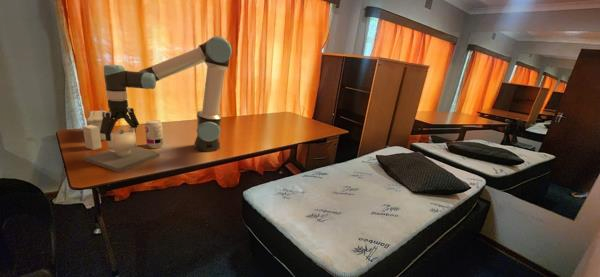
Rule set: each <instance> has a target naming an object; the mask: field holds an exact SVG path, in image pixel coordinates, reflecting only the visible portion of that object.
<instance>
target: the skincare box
mask: <svg viewBox="0 0 600 277" xmlns="http://www.w3.org/2000/svg"><path fill="white" fill-rule="evenodd" d="M82 131H83V137H84V142H85V148H86V149H89V150H92V151H95V150H99V149H102V140H101V138H100V132H99V127H97V126H94V125H87V124H86V125H83V126H82Z"/></svg>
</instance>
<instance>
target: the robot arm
mask: <svg viewBox="0 0 600 277" xmlns="http://www.w3.org/2000/svg"><path fill="white" fill-rule="evenodd" d="M232 52H233V48H232V45H231V43H230V42H229V41H228V40H227V38H224V37H222V36H212V37H210V38H209V39H208V40H207V41H205V42H204V43H201V44H199V45H198V47H197V48H194V49H191V50H190V51H187V52H184V53H182V54H179V55H177V56H173V57H172V58H169V59H167V60H164V61H162V62H158V63H156V64H154V65H151V66H149V67H146V68H143V69H141V70H139V71H132V70H130V71H129V70H125V67H124V66H123V65H119V64H106V65H104V66H103V73H104V74H103V77H104V84H105V90H106V91H105V92H106V99H107V107H108V109H109V111H108V112H107V111H106V112H103V120H102V124H101V129H100V133H102V134H105V138H106V140H105V141H107V147H108V148H109V147H114V141H113V134H111V133H112V131H113V129H114V127H115V125H116V123H117V122H118V121H119V120H122V119H123V120H124V121H126V123H127V124H128V125H129V127H128V131H131V132H134V133H135V134H136V133H137V131H136V130H137V128H138V126H139V125H140V122H139V121H138V119H137V117H136V114H135V109H134V108H133V107H129V103H128V102H129V101H128V93H127V92H128V91H127V88H130V89H131V88H132V89H133V88H134V89H145V90H154V89H155V88H156V83H157V82H158V81H160V80H163V79H166V78H168V77H170V76H173V75H175V74H178V73H180V72H183V71H185V70H188V69H190V68H193V67H196V66H198V65H201V64H203V63H205V65H206V66H207V68H206V77H205V85H204V93H203V94H204V95H203V100H202V101H203V102H202V110H198V111H197V114H196V123H197V124H196V134H197V135H196V138H195V141H194V144H193V148H194V149H195V150H196V151H199V152H215V151H218V150H219V149H220V148H221V141H220V138H219V137H220V134H221V122H222V116H221V115H220V109H221V100H222V92H223V87H224V79H225V72H226V70H227V69H228V68H229V67H230V66H229V64H230V59H231V56H232V55H233V54H232ZM217 149H218V150H217Z"/></svg>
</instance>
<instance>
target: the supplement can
mask: <svg viewBox="0 0 600 277" xmlns="http://www.w3.org/2000/svg"><path fill="white" fill-rule="evenodd" d="M144 124H145V126H144V128H145V138H146V139H145V140H146V141H145V142H146V146H147V147H148V148H149V149H159V148H162V146H163V145H164V136H163V123H162V121H161V120H158V119H150V120H146V122H145V123H144Z"/></svg>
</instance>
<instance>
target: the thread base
mask: <svg viewBox="0 0 600 277" xmlns="http://www.w3.org/2000/svg"><path fill="white" fill-rule="evenodd" d="M160 153H161V152H157V151H155V150H151V149H147V148H143V147H140V146H137V145H136V146H135V147H133V148H130V149H125V150H113V149H110V148H109V149H106V150H103V151H100V152H96V153H93V154H90V155H86V156H84V157H83V160H84V162H87V163H89V164H93V165H95V166H97V167H98V166H99V167H102V168H104V169H107V170H111V171H113V172H116V173H121V172H123V171H126V170H129V169H131V168H134V167H136V165H137V166H139V165H141V163H142V164H144V163H146V162H149V161H151V160H154V159H158V158H159V157H160V156H161V154H160Z"/></svg>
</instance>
